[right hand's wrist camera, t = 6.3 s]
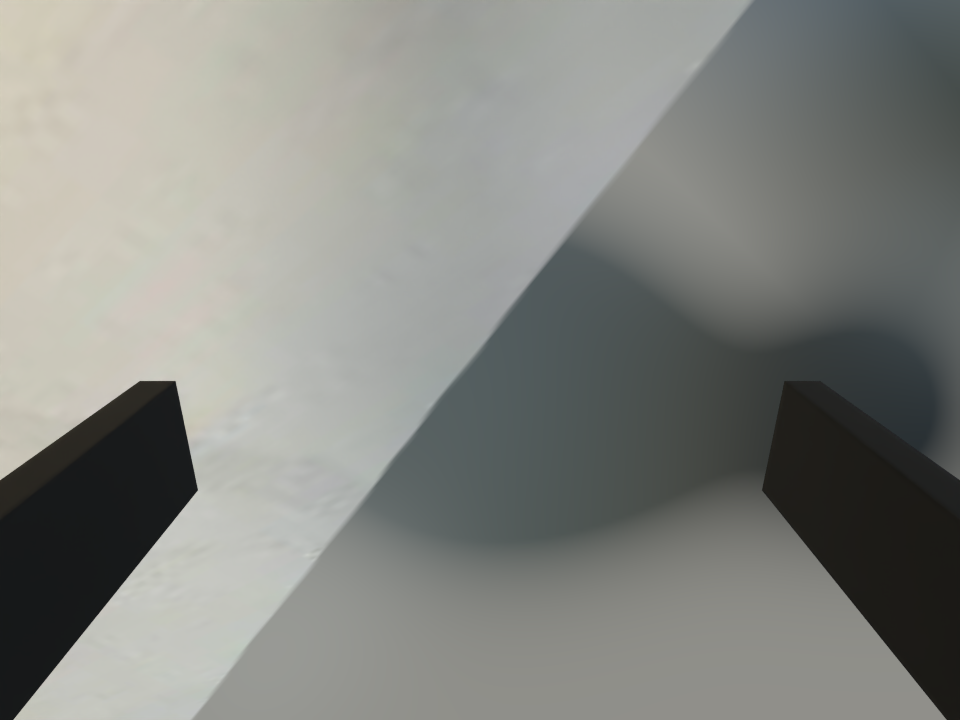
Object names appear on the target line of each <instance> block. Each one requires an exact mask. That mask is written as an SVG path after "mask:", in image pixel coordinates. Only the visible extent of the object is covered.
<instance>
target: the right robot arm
mask: <svg viewBox="0 0 960 720" xmlns="http://www.w3.org/2000/svg"><path fill="white" fill-rule="evenodd" d="M197 491H198V488H197V484H196V479H195V474H194V469H193V464H192V459H191V454H190V450H189V445H188V440H187V435H186V430H185V425H184V420H183V415H182V411H181V406H180V401H179V396H178V391H177V386H176V381H139V382H138V383H137V384H135V385H134V386H132V387H131V388H130V389H128V390H127V391H125V392H124V393H122V394H121V395H120V396H118V397H117V398H115V399H114V400H113V401H111V402H110V403H108V404H107V405H106V406H104V407H103V408H101V409H100V410H99V411H97V412H96V413H94V414H93V415H92V416H90V417H89V418H87V419H86V420H84V421H83V422H82V423H80V424H79V425H77V426H76V427H75V428H73V429H72V430H70V431H69V432H68V433H66V434H65V435H63V436H62V437H61V438H59V439H58V440H56V441H55V442H54V443H52V444H51V445H49V446H48V447H46V448H45V449H44V450H42V451H41V452H39V453H38V454H37V455H35V456H34V457H32V458H31V459H30V460H28V461H27V462H25V463H24V464H23V465H21V466H20V467H18V468H17V469H15V470H14V471H13V472H11V473H10V474H8V475H7V476H6V477H4V478H3V479H1V480H0V720H13V719H14V718H15V717H16V716H17V714H18V713H19V712H20V711H21V709H22V708H23V707H24V706H25V705H26V703H27V702H28V701H29V700H30V698H31V697H32V696H33V695H34V693H35V692H36V691H37V690H38V688H39V687H40V686H41V685H42V683H43V682H44V681H45V680H46V678H47V677H48V676H49V675H50V673H51V672H52V671H53V670H54V668H55V667H56V666H57V665H58V663H59V662H60V661H61V660H62V659H63V657H64V656H65V655H66V654H67V652H68V651H69V650H70V649H71V647H72V646H73V645H74V644H75V642H76V641H77V640H78V639H79V637H80V636H81V635H82V634H83V632H84V631H85V630H86V629H87V627H88V626H89V625H90V624H91V622H92V621H93V620H94V619H95V618H96V616H97V615H98V614H99V613H100V611H101V610H102V609H103V608H104V606H105V605H106V604H107V603H108V601H109V600H110V599H111V598H112V596H113V595H114V594H115V593H116V591H117V590H118V589H119V588H120V586H121V585H122V584H123V583H124V581H125V580H126V579H127V578H128V576H129V575H130V574H131V573H132V572H133V570H134V569H135V568H136V567H137V565H138V564H139V563H140V562H141V560H142V559H143V558H144V557H145V555H146V554H147V553H148V552H149V550H150V549H151V548H152V547H153V545H154V544H155V543H156V542H157V540H158V539H159V538H160V537H161V535H162V534H163V533H164V532H165V531H166V529H167V528H168V527H169V526H170V524H171V523H172V522H173V521H174V519H175V518H176V517H177V516H178V514H179V513H180V512H181V511H182V509H183V508H184V507H185V506H186V504H187V503H188V502H189V501H190V499H191V498H192V497H193V496H194V494H195V493H196V492H197ZM762 491H763V492H764V493H765V494H766V496H767V497H768V498H769V499H770V501H771V502H772V503H773V504H774V506H775V507H776V508H777V509H778V511H779V512H780V513H781V514H782V516H783V517H784V518H785V519H786V520H787V522H788V523H789V524H790V526H791V527H792V528H793V529H794V531H795V532H796V533H797V534H798V535H799V537H800V538H801V539H802V540H803V542H804V543H805V544H806V545H807V547H808V548H809V549H810V550H811V552H812V553H813V554H814V555H815V556H816V558H817V559H818V560H819V562H820V563H821V564H822V565H823V567H824V568H825V569H826V570H827V572H828V573H829V574H830V575H831V576H832V578H833V579H834V580H835V581H836V583H837V584H838V585H839V586H840V588H841V589H842V590H843V591H844V593H845V594H846V595H847V596H848V598H849V599H850V600H851V601H852V603H853V604H854V605H855V606H856V608H857V609H858V610H859V611H860V612H861V614H862V615H863V616H864V618H865V619H866V620H867V621H868V622H869V624H870V625H871V626H872V627H873V629H874V630H875V631H876V632H877V634H878V635H879V636H880V637H881V639H882V640H883V641H884V642H885V644H886V645H887V646H888V647H889V649H890V650H891V651H892V652H893V654H894V655H895V656H896V657H897V659H898V660H899V661H900V662H901V663H902V665H903V666H904V667H905V668H906V670H907V671H908V672H909V673H910V675H911V676H912V677H913V678H914V680H915V681H916V682H917V683H918V685H919V686H920V687H921V688H922V690H923V691H924V692H925V693H926V695H927V696H928V697H929V698H930V699H931V701H932V702H933V703H934V705H935V706H936V707H937V708H938V709H939V711H940V712H941V713H942V714H943V716H944V717H945V718H946V719H947V720H960V480H959V479H957V478H956V477H954V476H953V475H952V474H950V473H949V472H947V471H946V470H945V469H943V468H942V467H940V466H939V465H937V464H936V463H935V462H933V461H932V460H930V459H929V458H928V457H926V456H925V455H923V454H922V453H921V452H919V451H918V450H916V449H915V448H914V447H912V446H911V445H909V444H908V443H906V442H905V441H904V440H902V439H901V438H899V437H898V436H897V435H895V434H894V433H892V432H891V431H890V430H888V429H887V428H885V427H884V426H883V425H881V424H880V423H878V422H877V421H876V420H874V419H873V418H871V417H870V416H868V415H867V414H866V413H864V412H863V411H861V410H860V409H859V408H857V407H856V406H854V405H853V404H852V403H850V402H849V401H847V400H846V399H845V398H843V397H842V396H840V395H839V394H838V393H836V392H835V391H833V390H832V389H830V388H829V387H828V386H826V385H825V384H823V383H822V382H821V381H785V382H784V386H783V391H782V396H781V401H780V406H779V411H778V415H777V420H776V425H775V430H774V435H773V440H772V445H771V450H770V455H769V459H768V464H767V469H766V474H765V479H764V484H763V489H762Z"/></svg>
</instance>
